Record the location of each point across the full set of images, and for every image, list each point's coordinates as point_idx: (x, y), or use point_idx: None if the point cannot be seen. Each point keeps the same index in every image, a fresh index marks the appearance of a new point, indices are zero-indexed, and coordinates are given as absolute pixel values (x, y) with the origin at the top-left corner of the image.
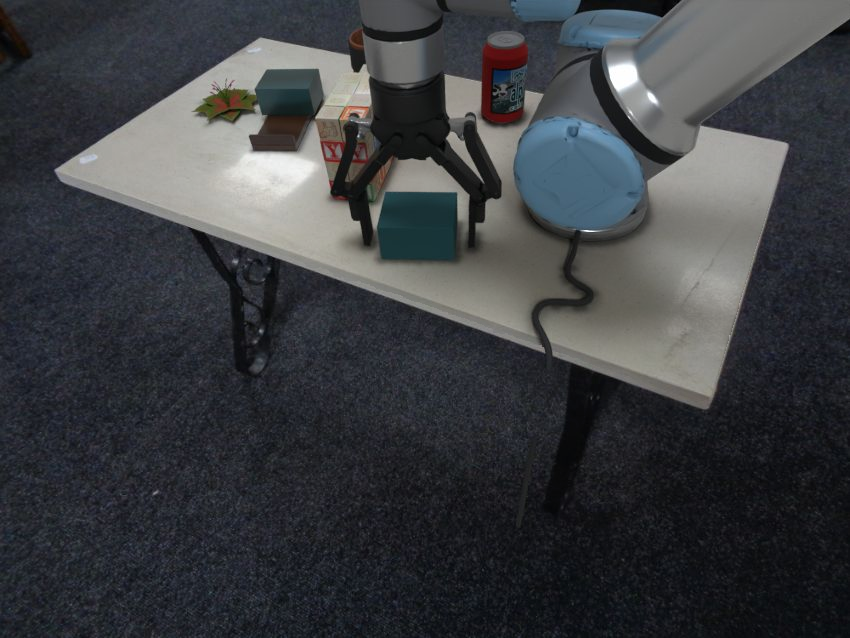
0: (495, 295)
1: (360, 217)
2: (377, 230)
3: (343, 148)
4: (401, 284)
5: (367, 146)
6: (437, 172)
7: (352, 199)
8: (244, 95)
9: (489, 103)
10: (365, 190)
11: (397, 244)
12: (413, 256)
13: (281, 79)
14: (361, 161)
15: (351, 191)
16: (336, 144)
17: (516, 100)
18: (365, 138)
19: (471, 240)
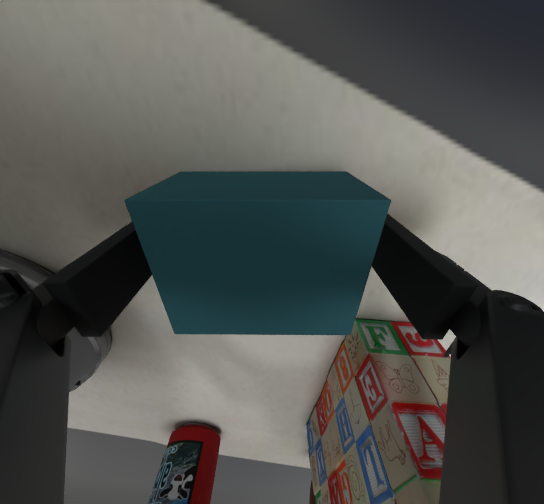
0: (24, 26)
1: (430, 251)
2: (384, 196)
3: None
4: (295, 67)
5: (408, 459)
6: (258, 366)
7: (509, 297)
8: None
9: (201, 457)
10: (427, 336)
11: (312, 181)
12: (272, 173)
13: None
14: (407, 407)
15: (541, 329)
16: None
17: (166, 462)
18: (426, 496)
19: None
